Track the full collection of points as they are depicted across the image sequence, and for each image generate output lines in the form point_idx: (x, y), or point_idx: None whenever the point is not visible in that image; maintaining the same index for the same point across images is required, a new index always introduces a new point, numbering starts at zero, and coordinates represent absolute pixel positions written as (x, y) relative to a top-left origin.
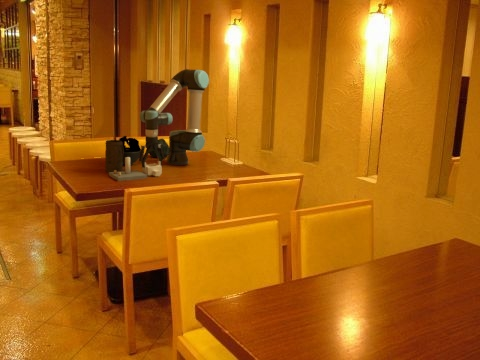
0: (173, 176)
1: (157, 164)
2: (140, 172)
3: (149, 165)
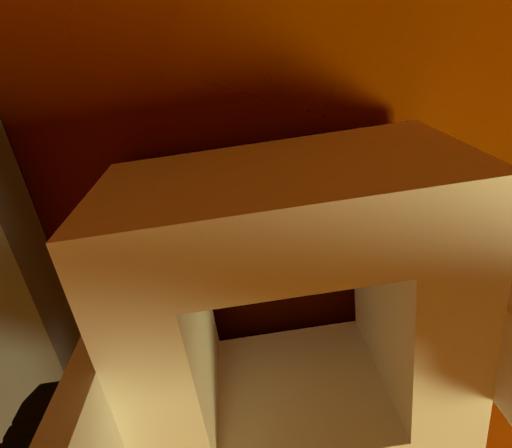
0: (504, 432)
1: (502, 308)
2: (32, 359)
3: (267, 291)
